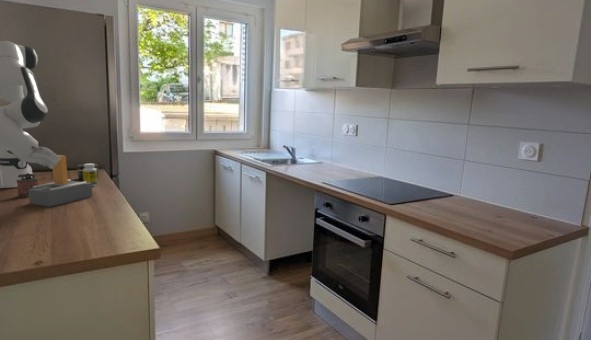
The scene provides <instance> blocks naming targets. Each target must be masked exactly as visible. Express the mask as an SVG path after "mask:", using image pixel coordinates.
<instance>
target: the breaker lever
mask: <svg viewBox="0 0 591 340" xmlns="http://www.w3.org/2000/svg"><path fill="white" fill-rule="evenodd" d="M57 155H58V156H59V157H60V161H59V162H58V163H57V165H54V167H53V169H52V176H53V178H52V179H53V182H54V183H57V184H68V178H69V177H68V165H67V156H66V155H62V154H61V155H60V154H57Z"/></svg>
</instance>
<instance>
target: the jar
mask: <svg viewBox="0 0 591 340" xmlns="http://www.w3.org/2000/svg"><path fill="white" fill-rule="evenodd" d="M84 164H85V163H83V164H82V163H81V164H78V165H77V166H76V167H77V177H78V179H79V180H80V181H83V169H84V168H85V167H84ZM94 164H95V167H94V168H96V170H97V179H98V177H99V165H98V164H96V163H94Z"/></svg>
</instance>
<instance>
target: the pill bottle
mask: <svg viewBox="0 0 591 340" xmlns="http://www.w3.org/2000/svg"><path fill="white" fill-rule="evenodd" d="M83 164H84V167H85V168H84V169H83V180H82V182H85V181H86V182H87V183H91V184H92V187H96V186H97V185H98V178H97V170H96V168H94V167H95V164H96V163H91V162H90V163H89V162H88V163H83Z"/></svg>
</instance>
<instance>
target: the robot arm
mask: <svg viewBox="0 0 591 340" xmlns="http://www.w3.org/2000/svg"><path fill="white" fill-rule="evenodd" d="M38 58H39V56H38V54H37V53H36V50H35V49H34V47H31V46H28V45H20V44H16V43H15V42H12V41H8V40H1V41H0V99H1V100H3V101H6V102H8V103H9V104H6V105H0V189H5V188H6V189H9V188H10V189H11V188H18V186H17V181H16V180H18V179H22V177H18V175H19V174H26V173H29V174H33V169H32V166H31V165H29V163H33V164H38V165H40V166H42V167H44V168H45V169H50V170H53V167H54V165H57V163H58V162H59V161H60V157H59V156H58V155H59V154H56V153H55V152H54V151H53V150H51V149H50V148H48V147H44V146H39V141H38V140H37V139H35V138H34V137H33V136H32V135H31V134H29V133H28V132H27V131H25V130H23V129H32V128H36V127H38V126H39V125H40V124H41V122H43V121H45V120H46V119H47V117H48V113H49V110H48V106H47V105H46V103H45V101H44V99H43V95H42V94H41V90H40V88H39V84H38V81H37V78H36V76H35V75H34V72H33V71H32V70H34V69H36V67H37V64H38V61H39V59H38ZM31 177H32V176H31ZM24 179H25V177H24Z"/></svg>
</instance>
